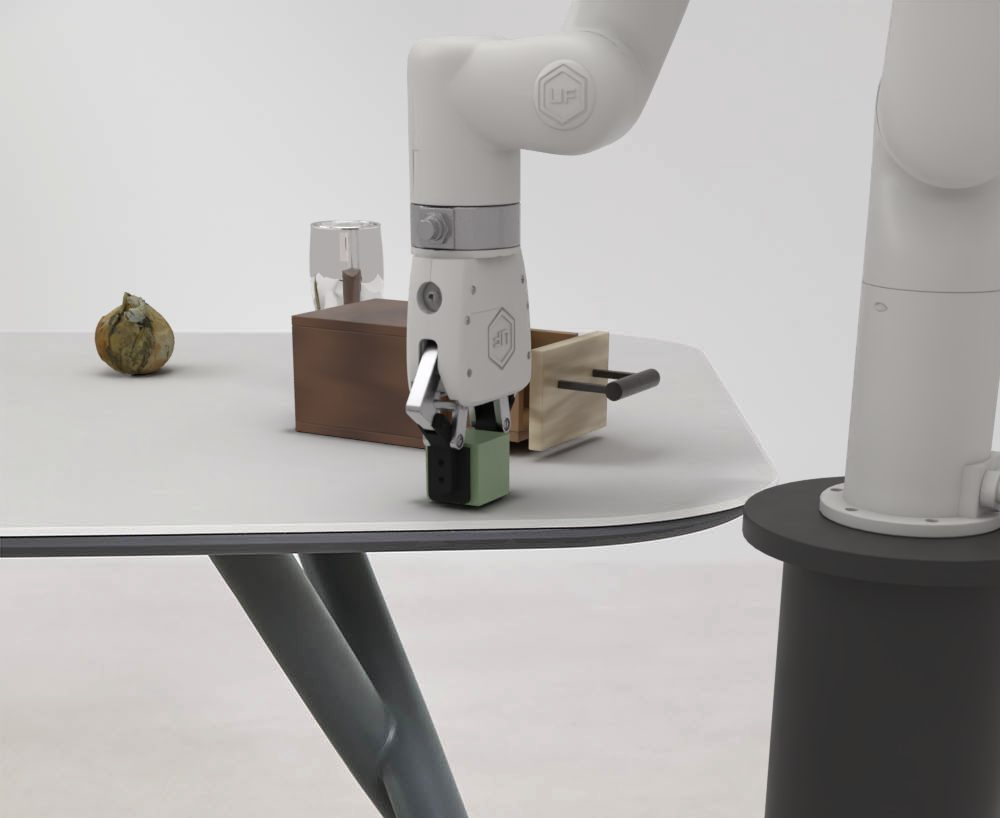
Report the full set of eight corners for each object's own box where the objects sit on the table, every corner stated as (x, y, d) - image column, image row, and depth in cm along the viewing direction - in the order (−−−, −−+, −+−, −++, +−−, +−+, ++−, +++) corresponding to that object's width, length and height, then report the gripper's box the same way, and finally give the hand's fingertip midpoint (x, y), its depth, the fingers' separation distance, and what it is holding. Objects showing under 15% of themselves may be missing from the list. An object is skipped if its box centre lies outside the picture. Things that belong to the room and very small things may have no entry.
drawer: (669, 433, 141) (673, 337, 138) (607, 460, 132) (610, 358, 129) (468, 409, 150) (469, 318, 147) (397, 432, 141) (396, 336, 138)
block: (509, 493, 124) (509, 433, 123) (479, 506, 121) (478, 444, 119) (458, 486, 126) (457, 427, 125) (426, 499, 123) (425, 438, 121)
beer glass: (324, 395, 160) (319, 228, 154) (304, 382, 166) (299, 221, 160) (395, 390, 162) (393, 226, 157) (373, 378, 168) (370, 219, 163)
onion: (194, 371, 171) (189, 289, 168) (132, 382, 165) (125, 297, 162) (144, 362, 175) (139, 282, 172) (82, 373, 170) (74, 290, 166)
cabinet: (518, 424, 149) (519, 311, 145) (441, 451, 138) (441, 330, 135) (377, 406, 155) (375, 298, 152) (295, 431, 145) (290, 315, 141)
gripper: (447, 245, 108) (451, 527, 115) (571, 223, 122) (568, 476, 129) (349, 239, 112) (359, 513, 119) (480, 218, 125) (482, 465, 132)
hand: (468, 491), depth 124 cm, fingers closed on block, 4 cm apart
